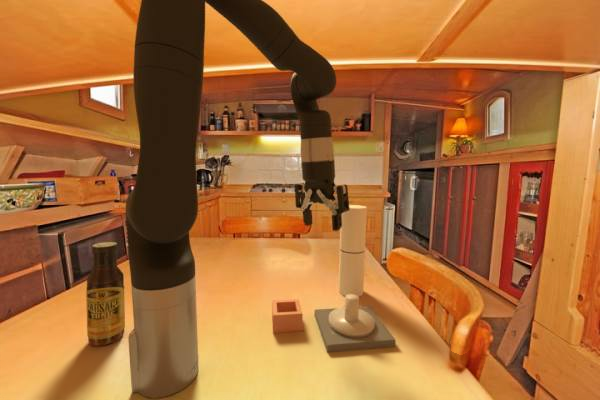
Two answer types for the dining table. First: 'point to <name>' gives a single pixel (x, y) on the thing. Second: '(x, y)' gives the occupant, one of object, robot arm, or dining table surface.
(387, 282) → the dining table surface
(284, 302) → the collar
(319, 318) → the post plate
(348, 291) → the cylindrical container
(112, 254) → the sauce bottle
